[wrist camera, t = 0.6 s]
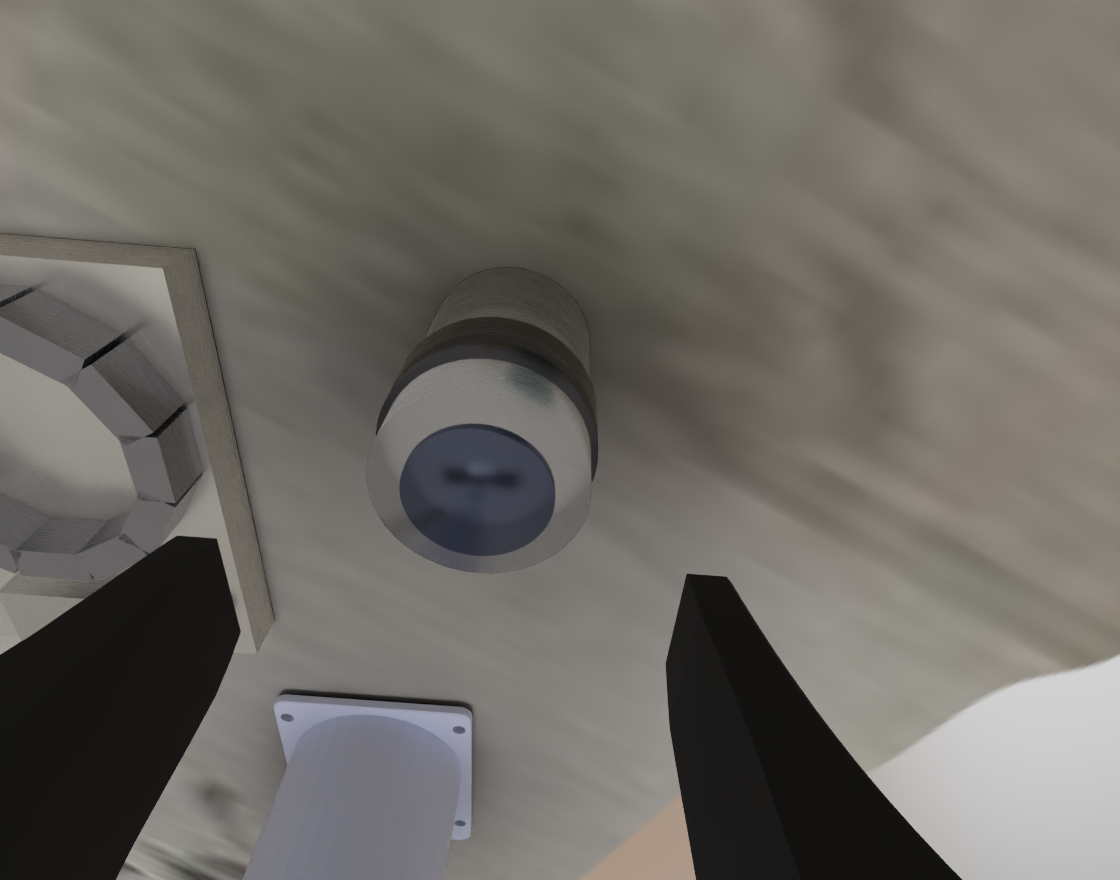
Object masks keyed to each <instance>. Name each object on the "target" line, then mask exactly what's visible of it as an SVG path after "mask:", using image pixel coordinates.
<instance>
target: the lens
mask: <svg viewBox="0 0 1120 880" xmlns="http://www.w3.org/2000/svg"><path fill="white" fill-rule="evenodd" d="M597 462H598V434H597V407H596V397H595V393H594V389H593V385H592V383H591V380H590V369H589V336H588V329H587V325H586V321H585V319H584V316H583V314H582V312H581V310H580V308H579V306H578V305H577V303H576V302H575V301H574V299H573V298H572V297H571V295H570V294H569V293H568V292H567V291H566V290H565V289H564V288H562V287H561V286H560V285H559V284H557V283H556V282H555V281H553V280H551V279H549V278H548V277H546V276H544V275H541V274H539V273H537V272H534V271H530V270H527V269H521V268H514V267H502V268H493V269H489V270H485V271H482V272H479V273H477V274H474V275H472V276H470V277H468V278H467V279H465V280H463V281H462V282H461V283H460V284H458V285H457V286H456V287H455V288H454V289H453V290H452V291H451V292H450V293H449V294H448V296H447V297H446V298H445V300H444V301H443V303H442V305H441V307H440V309H439V311H438V313H437V315H436V317H435V319H434V321H433V323H432V325H431V327H430V329H429V331H428V333H427V335H426V337H425V339H424V340H423V341H422V342H421V343H420V344H419V345H418V346H417V347H416V348H415V349H414V350H413V352H412V353H411V354H410V356H409V357H408V359H407V360H406V362H405V364H404V366H403V368H402V370H401V372H400V374H399V376H398V378H397V380H396V382H395V383H394V385H393V387H392V389H391V391H390V393H389V395H388V397H387V399H386V401H385V403H384V405H383V407H382V409H381V412H380V415H379V418H378V423H377V429H376V438H375V440H374V442H373V444H372V446H371V449H370V452H369V455H368V460H367V467H366V481H367V487H368V493H369V496H370V499H371V502H372V504H373V506H374V508H375V510H376V512H377V514H378V516H379V518H380V519H381V520H382V522H383V523H384V525H385V526H386V527H387V528H388V530H389V531H390V532H391V533H392V534H393V535H394V536H395V537H396V538H397V539H398V540H399V541H400V542H402V543H403V544H404V545H405V546H407V547H408V548H409V549H411V550H412V551H414V552H415V553H417V554H419V555H421V556H422V557H424V558H426V559H428V560H430V561H433V562H435V563H437V564H440V565H443V566H446V567H449V568H453V569H457V570H462V571H467V572H476V573H501V572H509V571H514V570H519V569H523V568H526V567H530V566H532V565H535V564H537V563H540V562H542V561H544V560H546V559H547V558H549V557H551V556H553V555H554V554H556V553H557V552H558V551H560V550H561V549H562V548H564V547H565V546H566V545H567V544H568V543H569V542H570V541H571V540H572V539H573V537H574V536H575V535H576V534H577V532H578V531H579V529H580V528H581V526H582V524H583V522H584V521H585V518H586V515H587V513H588V510H589V506H590V501H591V486H592V485H591V483H592V481H593V478H594V475H595V472H596V467H597Z"/></svg>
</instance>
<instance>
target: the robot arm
mask: <svg viewBox="0 0 1120 880" xmlns="http://www.w3.org/2000/svg"><path fill="white" fill-rule="evenodd" d="M240 633H241V630H240V626H239V622H238V619H237V615H236V611H235V607H234V603H233V599H232V595H231V591H230V587H229V584H228V580H227V576H226V572H225V568H224V564H223V560H222V556H221V552H220V549H219V545H218V541H217V539H216V538H203V537H190V536H176V537H174V538H172V539H171V540H169V541H168V542H166V543H165V544H163V545H162V546H160V547H159V548H157V549H156V550H154V551H153V552H151V553H150V554H148V555H147V556H145V557H144V558H142V559H141V560H140V561H138V562H137V563H135V564H134V565H132V566H131V567H129V568H128V569H127V570H125V571H124V572H122V573H121V574H119V575H118V576H117V577H115V578H114V579H112V580H111V581H109V582H108V583H107V584H105V585H104V586H102V587H101V588H99V589H98V590H97V591H95V592H94V593H92V594H91V595H89V596H88V597H86V598H85V599H84V600H82V601H81V602H79V603H78V604H76V605H75V606H73V607H72V608H70V609H69V610H67V611H66V612H65V613H63V614H62V615H60V616H59V617H57V618H56V619H54V620H53V621H51V622H50V623H48V624H47V625H46V626H44V627H43V628H41V629H40V630H38V631H37V632H35V633H34V634H32V635H31V636H29V637H28V638H26V639H25V640H23V641H21V642H20V643H18V644H17V645H15V646H14V647H12V648H10V649H9V650H7V651H6V652H4V653H3V654H1V655H0V880H116V878H117V876H118V874H119V872H120V870H121V868H122V866H123V864H124V862H125V860H126V858H127V856H128V854H129V852H130V850H131V848H132V846H133V844H134V842H135V841H136V839H137V837H138V835H139V833H140V832H141V830H142V828H143V826H144V824H145V823H146V821H147V819H148V817H149V815H150V814H151V812H152V810H153V808H154V806H155V805H156V803H157V801H158V799H159V798H160V796H161V794H162V792H163V790H164V789H165V787H166V785H167V783H168V781H169V780H170V778H171V776H172V774H173V772H174V771H175V769H176V767H177V765H178V763H179V762H180V760H181V758H182V756H183V755H184V753H185V751H186V749H187V747H188V746H189V744H190V742H191V740H192V738H193V736H194V735H195V733H196V731H197V729H198V727H199V725H200V724H201V722H202V720H203V718H204V716H205V714H206V713H207V711H208V709H209V707H210V705H211V703H212V701H213V700H214V698H215V696H216V694H217V691H218V689H219V686H220V684H221V682H222V679H223V677H224V675H225V672H226V670H227V667H228V665H229V662H230V660H231V657H232V654H233V652H234V649H235V646H236V644H237V641H238V639H239V636H240ZM666 674H667V693H668V708H669V723H670V732H671V738H672V744H673V750H674V755H675V761H676V767H677V773H678V779H679V785H680V790H681V796H682V802H683V807H684V813H685V818H686V824H687V830H688V836H689V840H690V846H691V853H692V858H693V864H694V869H695V875H696V880H962V879H961V878H960V877H959V876H958V875H957V874H956V873H955V872H954V871H953V870H952V869H951V868H950V867H949V866H948V865H947V864H946V863H945V862H944V861H943V859H941V857H940V856H939V855H938V854H937V853H936V852H935V851H934V850H933V849H932V848H931V847H930V846H929V845H928V843H927V842H925V840H924V839H923V838H922V837H921V836H920V835H919V834H918V833H917V832H916V831H915V830H914V828H913V827H912V826H911V825H910V824H909V823H908V822H907V821H906V819H905V818H904V817H903V816H902V815H901V814H900V813H899V812H898V810H897V809H896V808H895V807H894V806H893V805H892V804H891V803H890V802H889V800H888V799H887V798H886V797H885V796H884V795H883V793H882V792H881V791H880V790H879V789H878V787H877V786H876V785H875V784H874V783H873V782H872V780H871V779H870V778H869V777H868V776H867V774H866V773H865V772H864V771H863V769H862V768H861V767H860V766H859V765H858V763H857V762H856V761H855V760H854V758H853V757H852V756H851V755H850V753H849V752H848V751H847V750H846V748H845V747H844V746H843V744H842V743H841V742H840V741H839V739H838V738H837V737H836V736H835V734H834V733H833V732H832V730H831V729H830V728H829V727H828V725H827V724H826V723H825V721H824V720H823V719H822V717H821V716H820V715H819V713H818V712H817V711H816V709H815V708H814V707H813V705H812V704H811V702H810V701H809V700H808V698H807V697H806V695H805V694H804V692H803V691H802V690H801V688H800V687H799V685H798V684H797V683H796V681H795V680H794V678H793V677H792V676H791V674H790V673H789V671H788V670H787V669H786V667H785V666H784V664H783V663H782V661H781V660H780V658H779V657H778V655H777V654H776V652H775V651H774V649H773V648H772V646H771V645H770V643H769V642H768V640H767V639H766V637H765V636H764V634H763V633H762V631H761V630H760V628H759V626H758V625H757V623H756V622H755V620H754V619H753V617H752V615H751V614H750V612H749V611H748V609H747V607H746V606H745V604H744V603H743V601H742V599H741V598H740V596H739V594H738V593H737V591H736V590H735V588H734V586H733V585H732V583H731V582H730V581H729V579H728V578H727V577H722V576H709V575H696V574H687V575H686V579H685V583H684V588H683V592H682V596H681V601H680V605H679V609H678V613H677V618H676V622H675V626H674V631H673V635H672V639H671V644H670V648H669V652H668V656H667V661H666ZM274 712H275V716H276V721H277V725H278V729H279V733H280V737H281V741H282V746H283V750H284V754H285V758H286V762H287V769H286V771H285V774H284V776H283V779H282V781H281V784H280V786H279V789H278V791H277V794H276V796H275V799H274V801H273V804H272V807H271V809H270V812H269V814H268V817H267V819H266V822H265V824H264V827H263V829H262V832H261V834H260V837H259V839H258V842H257V844H256V847H255V849H254V852H253V854H252V857H251V860H250V862H249V865H248V867H247V870H246V872H245V875H244V877H243V880H445V875H446V869H447V862H448V856H449V850H450V844H451V839H453V840H465V839H467V838H469V837H470V835H471V829H472V713H471V712H470V711H469V710H468V709H466V708H464V707H456V706H442V705H428V704H414V703H400V702H386V701H372V700H358V699H344V698H330V697H316V696H303V695H289V694H286V695H281V696H279V697H278V698H277V699H276V701H275V703H274Z"/></svg>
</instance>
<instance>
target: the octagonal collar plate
mask: <svg viewBox="0 0 1120 880" xmlns="http://www.w3.org/2000/svg"><path fill="white" fill-rule="evenodd" d="M176 536H190V537H203V538H216V539H217V541H218V545H219V549H220V552H221V556H222V560H223V564H224V568H225V572H226V576H227V580H228V584H229V587H230V591H231V595H232V599H233V603H234V607H235V611H236V615H237V619H238V622H239V626H240V630H241V633H240V636H239V639H238V641H237V644H236V646H235V649H234V652H233V653H246V654H257V653H258V651H259V649H260V647H261V645H262V643H263V641H264V639H265V638H266V636H267V634H268V632H269V630H270V628H271V626H272V624H273V622H274V616H273V612H272V607H271V602H270V598H269V593H268V588H267V584H266V579H265V574H264V570H263V565H262V560H261V556H260V551H259V546H258V542H257V537H256V533H255V528H254V523H253V519H252V514H251V509H250V505H249V500H248V495H247V491H246V486H245V481H244V477H243V472H242V467H241V463H240V458H239V453H238V449H237V444H236V439H235V435H234V430H233V426H232V421H231V416H230V412H229V407H228V402H227V398H226V393H225V388H224V384H223V379H222V374H221V370H220V365H219V360H218V356H217V351H216V346H215V342H214V337H213V332H212V328H211V323H210V318H209V314H208V309H207V305H206V300H205V295H204V291H203V286H202V281H201V277H200V272H199V267H198V263H197V258H196V253H195V249H183V248H171V247H158V246H146V245H134V244H121V243H109V242H96V241H84V240H72V239H59V238H47V237H35V236H22V235H10V234H0V634H1V636H12V637H20V639H21V641H23V640H25V639H26V638H28V637H29V636H31V635H32V634H34V633H35V632H37V631H38V630H40V629H41V628H43V627H44V626H46V625H47V624H48V623H50V622H51V621H53V620H54V619H56V618H57V617H59V616H60V615H62V614H63V613H65V612H66V611H67V610H69V609H70V608H72V607H73V606H75V605H76V604H78V603H79V602H81V601H82V600H84V599H85V598H86V597H88V596H89V595H91V594H92V593H94V592H95V591H97V590H98V589H99V588H101V587H102V586H104V585H105V584H107V583H108V582H109V581H111V580H112V579H114V578H115V577H117V576H118V575H119V574H121V573H122V572H124V571H125V570H127V569H128V568H129V567H131V566H132V565H134V564H135V563H137V562H138V561H140V560H141V559H142V558H144V557H145V556H147V555H148V554H150V553H151V552H153V551H154V550H156V549H157V548H159V547H160V546H162V545H163V544H165V543H166V542H168V541H169V540H171V539H172V538H174V537H176Z"/></svg>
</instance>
